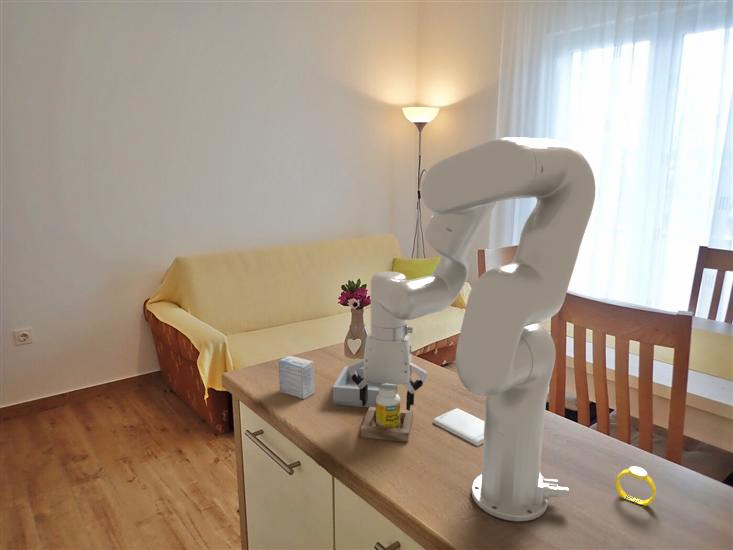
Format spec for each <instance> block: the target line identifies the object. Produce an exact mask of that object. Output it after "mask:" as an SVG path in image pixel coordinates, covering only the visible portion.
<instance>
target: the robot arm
mask: <svg viewBox="0 0 733 550" xmlns="http://www.w3.org/2000/svg"><path fill="white" fill-rule="evenodd" d="M420 189H421V190H420V193H421V199H422V202H423V204H424V206H425V207H426V208H427V209H428V210H429V211H430V212H431V213H433V214H432V216H431V218H430V219H429V222H428V224H427V226H426V228H425V230H424V239H425V241H426V243H427V245H428V246H429V247H430V248H431V249H432V250H433V251H435V252H436V253H437V254H439V255H440V258H439V261H438V263H437V265H436V267H435V269H434V270H433V271H432V273H431V275H426V276H421V277H417V278H412V279H407V277H406V275H405V274H404V273H402V272H398V271H389V270H388V271H387V270H385V271H379V272H376V273H374V274H373V275H372V276H371V278H370V279H371V280H370V317H369V321H370V323H369V324H370V330H369V333H368V334H367V336H366V341H365V346H364V354H363V359H361V360H358V361H356V362H354V363H351V364H348V365H347V366H348V368H347V370H348V372H349V374H350V376H351V377H352V380H353V381H354V382H355V383H356V384H357V385H358V388H359V389H360V400H362V406H366V403H367V401H368V385H367V383H368V382H377V383H388V384H394V385H403V386H404V387H405V388H406V389H407V391H406V405H405V407H406V409H405V410H409V411H410V410H411V406H414V405H415V393H416V391H418V389H420V388H421V387H423V385H424V383H425V382H426V380H427V378H428V376H429V372H428V371H427V370H425V369H423V368H421V367H420V366H418V365H417V364H415V363H413V356H412V355H413V354H412V352H413V351H412V344H411V337H410V334H411V335H412V334H413V333H414V327H413V326H409V325H408V324H407V323H408V321H411V320H414V319H419V318H422V317H425V316H428V315H432V314H435V313H439V312H442V311H445V310H447V309H448V308H449V307H450V306H451V305H452V304H453V303H454V302H455V300H456V299H457V297H458V296H459V294H460V293H461V291H462V289H463V287H464V286H465V285H466V283H467V280H468V279H469V271H470V257H469V256H470V255H469V250H470V248H471V247H472V245H473V244H474V242H475V240H476V239H477V236H478V235H479V233H480V232H481V230H482V228H483V226H484V225H485V222H486V221H487V219H488V218H489V216H490V215H491V213H492V211H493V209H494V208H495V205H497V202H501V201H502V202H503V201H507V200H517V199H518V200H519V199H530V198H535V200H536V203H535V206H534V208H533V210H532V211H531V213H530V215H528V217H527V218H526V221H525V222H524V225H523V227H522V230H521V233H520V237H519V243H518V245H517V248H516V252H515V255H514V257H513V260H512V261H511V262H510V263H508V264H504V265H500V266H496V267H493V268H491V269H489V270H487V271H485V272H483V273H482V274H481V275H480V276H479V277H478V278H477V280H476V281H475V282H474V284H473V285H472V288H471V290H470V292H469V295H468V298H467V302H466V306H465V311H464V315H463V320H462V324H461V328H460V332H459V337H458V341H457V346H456V352H455V368H456V373H457V376H458V378H459V380H460V381H461V383H462V385H463V386H464V387H465V389H467V391H468V392H471V393H472V394H475V396H476V395H477V396H479V397H480V396H481V397H486V398H485V406H484V407H485V409H484V421H485V422H484V441H483V443H482V445H483V446H482V462H481V463H482V464H481V465H482V466H481V474H480V475H478V476H476V478H475V479H474V480H473V482H472V484H471V485H472V486H471V496H472V498H473V500H474V502H475V503H476V504H477V506H478V507H479V508H480V509H482V510H483V511H484V512H486V513H487V514H489V515H491V516H493V517H496V518H498V519H501V520H504V521H505V520H506V521H511V522H527V521H532V520H535V519H538V518H540V517H541V516H542V515H543V514H544V513H545V512H546V511H547V509H548V500H549V498H554V499H560V500H569V499H570V489H569V488H568V487H567V486H559V479H556V478H546V477H544V476H542V474H541V465H542V453H543V440H544V426H545V420H546V419H545V417H546V405H547V400H548V398H547V397H548V391H549V387H550V382H551V379H552V375H553V371H554V367H555V362H556V347H555V342H554V339H553V337H552V335H551V333H550V332H549V331H548V330H547V329H546V328H545V327H544V326H543V325H542V324H540V323H541V322H543V321H547V320H549V319H551V318H553V317H554V316H555V315H557V314H558V313H559V312H560V310H561V308H562V307H563V304H564V302H565V299H566V297H567V296H566V295H567V293H568V292H567V291H568V289H569V285H570V283H571V279H572V276H573V272H574V269H575V265H576V262H577V259H578V255H579V252H580V249H581V248H580V247H581V245H582V243H583V242H582V241H583V238H584V235H585V233H586V229H587V226H588V223H589V221H590V219H591V215H592V212H593V208H594V204H595V199H596V181H595V176H594V172H593V169H592V167H591V165H590V163H589V161H588V160H587V159H586V158H585V156H584V155H583V154H582V153H581V152H580V151H579V150H578V149H576V148H575V147H573V146H572V145H570V144H568V143H567V142H563V141H561V140H556V139H551V138H541V137H540V138H538V137H533V138H531V137H499V138H495V139H491V140H489V141H485V142H483V143H480V144H478V145H475V146H473V147H470V148H468V149H466V150H463V151H460V152H459V153H455V154H453V155H450V156H448V157H446V158H442V159H441V160H439V161H437V162H436V163H434V164H432V166H431V167H430V168H429V169H428V170H427V171H426V173H425V175H424V178H423V179H422V182H421V187H420ZM362 367H363V378H362V377H361V376H360V375H359V374H358V373H357V372H356V370H357V369H359V368H362ZM412 373H414V374H415V375H417V376H419V377H418V378H417V379H416V380H415V381H414V380H413V379H412V378H411V377H412Z"/></svg>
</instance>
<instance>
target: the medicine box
mask: <svg viewBox="0 0 733 550" xmlns="http://www.w3.org/2000/svg"><path fill="white" fill-rule="evenodd" d="M314 377H315V376H314V361H313V360H309V359H305V358H301V357H297V356H293V355H287V356H285V357H282V358H281V359H280V360H278V380H279V381H278V382H279V392H280V393H282V394H286V395H288V394H289V396H293V397H296V398H298V399H301V400H305V399H307V398H308V397H310V396H311V395H313V394H314V393H315V378H314Z"/></svg>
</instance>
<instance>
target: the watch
mask: <svg viewBox="0 0 733 550" xmlns="http://www.w3.org/2000/svg"><path fill="white" fill-rule="evenodd" d="M625 475H626V476H627V475H630V476H631V477H633V478H634V479H636V480H637V479H638V480H644V481H646V483H647V484H648V485H649V487H650V489H651V496H650V498H647V499H644V500H643V499H640V498H637V497H634V496H631V495H628V494H627V493H626V492H625V491H624V490H623V488H622V486H621V483H620V482H621V478H622V477H623V476H625ZM615 488H616V492H617V493H618V495H619V496H620V497H621V498H622V499H623V498H624V499H625V498H626V496H627V495H628V496H630V497H632V498H633V497H634V498H633V499H632V498H630V497H628V496H627V497H628V498H630V499H628V498H627V499H628V500H631V501H633V502H634V501H635V500H636V501H635V502H637V501H638V502H637V503H638V504H642V505H644V506H643V507H645V506H648V505H650V504H651V503H652V502H653V501H654V500H655V499H656V496H657V486H656V484H655V482H654V480H653V479H652V478H651V477H650V476H649V475H648V472H647V470H645V469H644V468H642V467H640V466H635V465H634V466H633V465H632V466H630V467H629V468H627V469H623V470H622V471H621V472H620V473H618V475H617V477H616V480H615ZM636 498H637V499H636ZM624 499H623V500H624ZM639 500H640V501H639Z"/></svg>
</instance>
